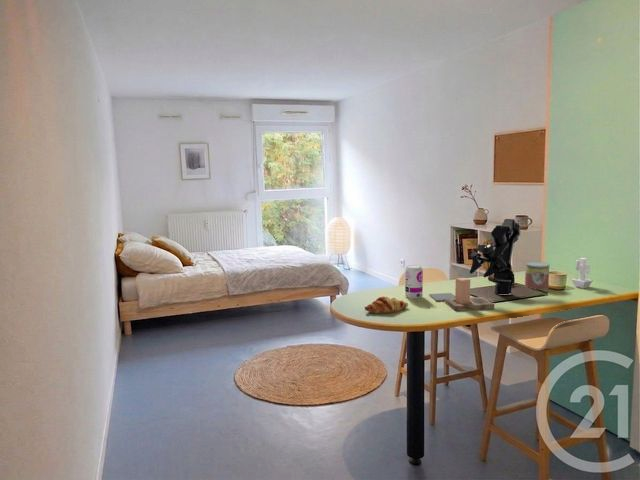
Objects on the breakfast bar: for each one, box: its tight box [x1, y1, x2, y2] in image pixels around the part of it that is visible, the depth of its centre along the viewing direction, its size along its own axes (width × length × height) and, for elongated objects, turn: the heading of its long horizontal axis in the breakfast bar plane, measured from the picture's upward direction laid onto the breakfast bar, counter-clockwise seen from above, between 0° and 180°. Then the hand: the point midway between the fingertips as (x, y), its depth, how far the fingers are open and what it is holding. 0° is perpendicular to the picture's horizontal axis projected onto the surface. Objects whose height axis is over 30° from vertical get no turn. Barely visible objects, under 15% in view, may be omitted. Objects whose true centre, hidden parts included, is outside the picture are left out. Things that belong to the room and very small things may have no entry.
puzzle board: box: [444, 296, 495, 311], centre depth 222 cm, size 18×12×2 cm
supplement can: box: [404, 264, 424, 300], centre depth 238 cm, size 8×8×15 cm
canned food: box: [524, 261, 550, 291], centre depth 252 cm, size 11×11×12 cm
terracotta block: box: [454, 277, 471, 304], centre depth 221 cm, size 4×4×12 cm
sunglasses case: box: [487, 274, 519, 286], centre depth 263 cm, size 18×7×7 cm
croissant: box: [364, 296, 409, 314], centre depth 217 cm, size 21×10×8 cm, turn 111°
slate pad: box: [428, 292, 455, 302], centre depth 236 cm, size 11×11×1 cm
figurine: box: [570, 257, 594, 289], centre depth 250 cm, size 7×9×15 cm
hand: (477, 274), depth 223 cm, fingers open, 9 cm apart
